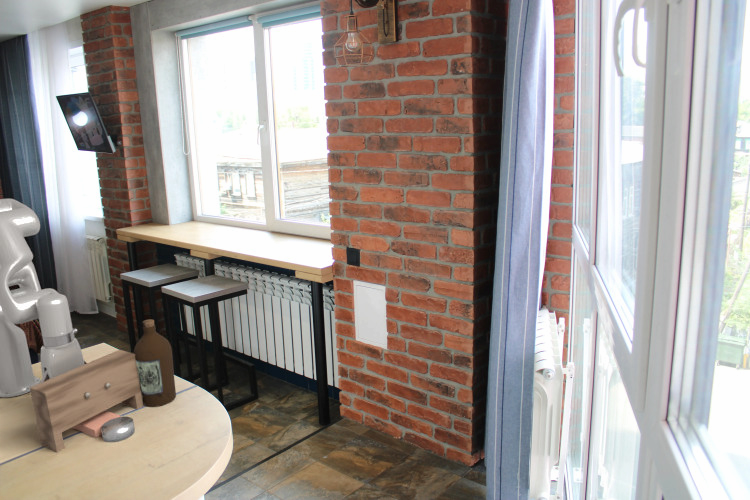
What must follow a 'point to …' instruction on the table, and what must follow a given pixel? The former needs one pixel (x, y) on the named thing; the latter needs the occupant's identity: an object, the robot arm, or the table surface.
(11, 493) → the table surface
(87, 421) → the block
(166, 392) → the olive oil
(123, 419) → the puck
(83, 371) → the cabinet
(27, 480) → the table surface
